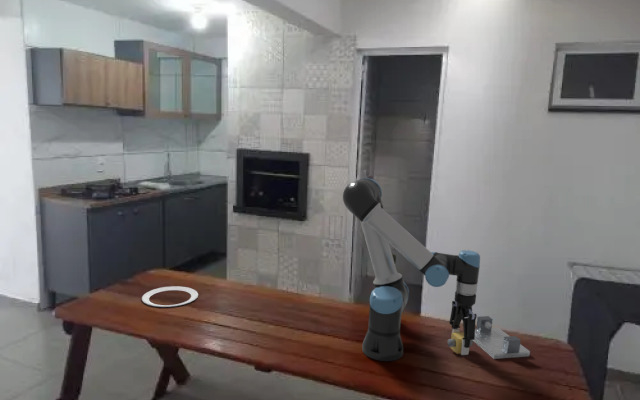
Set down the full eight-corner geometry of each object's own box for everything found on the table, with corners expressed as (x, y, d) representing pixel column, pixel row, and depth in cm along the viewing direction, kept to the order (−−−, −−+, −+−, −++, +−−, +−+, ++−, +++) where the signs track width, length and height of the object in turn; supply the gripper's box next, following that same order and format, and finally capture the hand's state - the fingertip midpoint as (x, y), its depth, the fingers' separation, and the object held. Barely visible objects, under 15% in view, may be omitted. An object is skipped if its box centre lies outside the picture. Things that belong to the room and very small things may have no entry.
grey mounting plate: (530, 356, 170) (532, 338, 169) (494, 359, 167) (496, 341, 166) (497, 331, 191) (499, 315, 189) (464, 333, 187) (466, 317, 186)
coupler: (451, 354, 170) (453, 339, 169) (445, 347, 175) (446, 333, 174) (473, 352, 172) (475, 337, 171) (466, 346, 177) (468, 331, 176)
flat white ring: (189, 310, 199) (189, 307, 199) (132, 307, 199) (132, 304, 199) (204, 289, 224) (204, 287, 223) (153, 287, 224) (153, 284, 224)
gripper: (489, 302, 161) (482, 362, 164) (461, 282, 180) (455, 337, 183) (470, 302, 159) (463, 363, 163) (444, 283, 178) (438, 338, 182)
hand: (459, 349), depth 173 cm, fingers open, 7 cm apart
